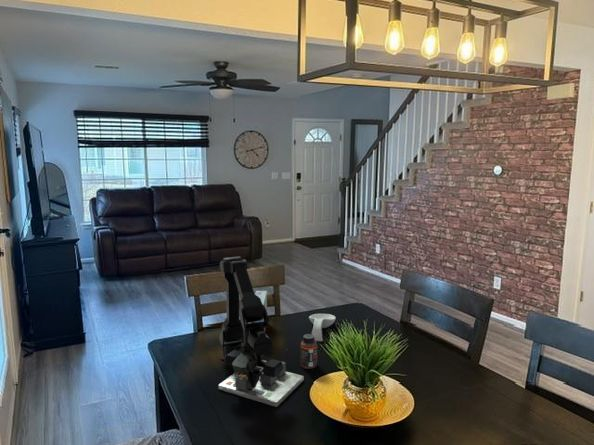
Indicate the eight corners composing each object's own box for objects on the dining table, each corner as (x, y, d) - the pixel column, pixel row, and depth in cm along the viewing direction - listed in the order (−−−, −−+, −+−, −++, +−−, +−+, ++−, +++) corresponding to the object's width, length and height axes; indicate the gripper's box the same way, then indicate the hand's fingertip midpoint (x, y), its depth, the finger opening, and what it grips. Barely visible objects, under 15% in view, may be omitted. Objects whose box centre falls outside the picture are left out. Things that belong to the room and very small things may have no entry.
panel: (218, 389, 146) (218, 384, 146) (249, 365, 162) (249, 361, 161) (276, 407, 136) (276, 402, 135) (303, 380, 151) (303, 375, 151)
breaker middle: (260, 382, 147) (260, 372, 146) (265, 377, 150) (265, 368, 149) (270, 385, 145) (270, 375, 144) (276, 380, 148) (276, 370, 147)
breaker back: (270, 373, 152) (270, 364, 152) (275, 369, 155) (275, 360, 155) (280, 376, 150) (280, 366, 150) (285, 372, 153) (285, 362, 153)
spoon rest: (311, 319, 206) (311, 304, 204) (336, 321, 204) (336, 306, 203) (303, 341, 183) (303, 324, 181) (331, 343, 181) (331, 326, 180)
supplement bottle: (315, 370, 158) (315, 340, 156) (299, 368, 159) (299, 338, 157) (318, 362, 164) (318, 333, 162) (302, 361, 165) (302, 332, 163)
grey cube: (235, 387, 143) (235, 377, 143) (241, 382, 146) (241, 372, 146) (245, 391, 142) (245, 380, 141) (252, 385, 145) (251, 375, 144)
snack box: (263, 341, 182) (263, 306, 179) (250, 341, 182) (249, 306, 179) (267, 321, 203) (267, 290, 200) (255, 321, 203) (254, 289, 200)
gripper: (212, 345, 137) (214, 392, 139) (264, 358, 128) (265, 408, 131) (234, 332, 147) (235, 376, 149) (283, 343, 138) (284, 390, 141)
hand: (253, 387), depth 142 cm, fingers closed
